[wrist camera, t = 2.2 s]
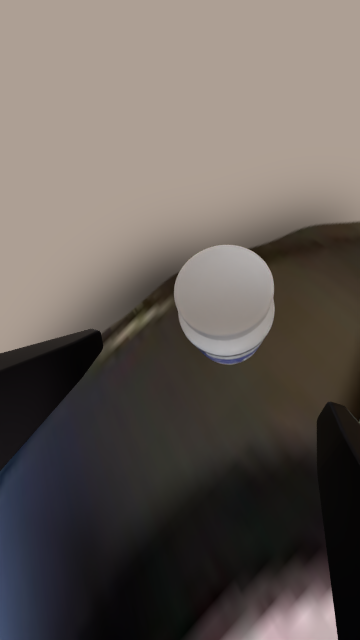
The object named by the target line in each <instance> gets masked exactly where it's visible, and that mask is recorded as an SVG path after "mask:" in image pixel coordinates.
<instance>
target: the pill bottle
mask: <svg viewBox="0 0 360 640" xmlns="http://www.w3.org/2000/svg"><path fill="white" fill-rule="evenodd" d="M273 295H274V281H273V277H272V274H271V271H270V269H269V267H268V266H267V264H266V263H265V262H264V260H263V259H262V258H261V257H259V256H258V255H257V254H256V253H255V252H253V251H251V250H249V249H247V248H244V247H241V246H236V245H217V246H212V247H209V248H207V249H204V250H202V251H200V252H198V253H197V254H195V255H194V256H193V257H191V258H190V259H189V260H188V261H187V262H186V263H185V265H184V266H183V267H182V269H181V270H180V272H179V274H178V276H177V279H176V282H175V286H174V299H175V304H176V307H177V309H178V315H179V321H180V324H181V327H182V329H183V331H184V333H185V335H186V336H187V338H188V339H189V340H190V341H191V342H192V343H193V344H194V345H195V346H196V347H197V348H198V349H199V350H200V351H201V352H202V353H203V354H204V355H205V356H207V357H208V358H209V359H211V360H213V361H215V362H218V363H221V364H236V363H240V362H242V361H244V360H246V359H248V358H249V357H251V356H252V355H253V354H254V353H255V351H256V350H257V349H258V347H259V346H260V344H261V343H262V341H263V340H264V338H265V337H266V335H267V334H268V332H269V330H270V328H271V326H272V322H273V319H274V310H275V308H274V300H273Z"/></svg>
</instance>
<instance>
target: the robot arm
mask: <svg viewBox="0 0 360 640" xmlns="http://www.w3.org/2000/svg"><path fill="white" fill-rule="evenodd" d="M102 349H103V342H102V336H101V333H100V331H98V330H94V329H88V330H85V331H81V332H77V333H74V334H70V335H67V336H63V337H59V338H56V339H52V340H48V341H44V342H41V343H37V344H33V345H30V346H27V347H23V348H19V349H15V350H12V351H8V352H4V353H0V471H1V469H2V468H3V467H4V466H5V465H6V464H7V463H8V461H9V460H10V459H11V458H12V457H13V456H14V455H15V453H16V452H17V451H18V450H19V449H20V448H21V447H22V446H23V444H24V443H25V442H26V441H27V440H28V439H29V438H30V436H31V435H32V434H33V433H34V432H35V431H36V430H37V428H38V427H39V426H40V425H41V424H42V423H43V422H44V420H45V419H46V418H47V417H48V416H49V415H50V414H51V413H52V411H53V410H54V409H55V408H56V407H57V406H58V405H59V403H60V402H61V401H62V400H63V399H64V398H65V397H66V395H67V394H68V393H69V392H70V391H71V390H72V389H73V387H74V386H75V385H76V384H77V383H78V382H79V381H80V379H81V378H82V377H83V376H84V374H85V373H86V372H87V370H88V369H89V368H90V366H91V365H92V363H93V362H94V361H95V359H96V358H97V357H98V355H99V354H100V352H101V351H102ZM317 474H318V483H319V491H320V499H321V507H322V515H323V523H324V531H325V539H326V547H327V555H328V563H329V571H330V579H331V587H332V595H333V603H334V611H335V618H336V626H337V634H338V640H360V423H359V422H358V421H357V420H356V418H355V417H354V416H353V415H352V414H351V413H350V412H349V410H348V409H347V408H346V407H345V406H343V405H340V404H337V403H334V402H328V403H327V404H326V405H325V407H324V408H323V410H322V412H321V413H320V415H319V417H318V419H317Z"/></svg>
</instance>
